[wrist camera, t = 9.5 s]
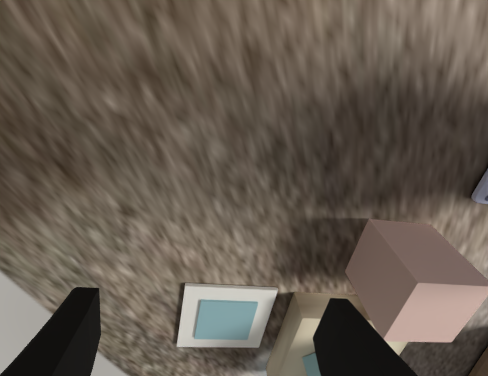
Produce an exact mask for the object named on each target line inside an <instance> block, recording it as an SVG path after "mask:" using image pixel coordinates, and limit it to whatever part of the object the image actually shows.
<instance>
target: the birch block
mask: <svg viewBox="0 0 488 376" xmlns="http://www.w3.org/2000/svg"><path fill="white" fill-rule="evenodd" d="M330 298H343V299H348V300H349V301H350V302H351V303H352V304H353V305H354V306H355V308H356V309H357V310H358V311H359V312H360V313H361V314H362V315H363V316H364V318H365V319H366V320H367V321H368V322H369V323H370V324H371V326H372V327H373V328H374V329H375V327H374V325H373V323H372V321H371V320H370V318H369V316H368V314H367V312H366V310H365V308H364V306H363V305H362V303H361V301H360V299H359V297H358V295H344V294H324V293H304V292H294V294H293V296H292V299H291V302H290V304H289V307H288V310H287V312H286V315H285V318H284V320H283V323H282V326H281V328H280V331H279V334H278V336H277V339H276V342H275V344H274V347H273V350H272V352H271V355H270V358H269V360H268V363H267V366H266V371H267V376H307V373H306V369H305V366H304V363H303V359H302V358H303V357H306V356H308V355H311V354H313V353H315V348H314V343H313V336H314V333H315V331H316V329H317V327H318V325H319V322H320V320H321V318H322V316H323V313H324V311H325V309H326V307H327V304H328V302H329V300H330ZM375 330H376V329H375ZM386 342H387V343H388V345H389V346H390V347H391V348H392V349H393V350H394V351H395V352H396V353H397V354H398V355H400V353H401V352H402V350H403V349H404V348H405V346H406V345H407V343H408V342H392V341H386Z"/></svg>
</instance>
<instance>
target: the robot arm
mask: <svg viewBox="0 0 488 376" xmlns="http://www.w3.org/2000/svg"><path fill="white" fill-rule="evenodd" d="M471 198H472V200H473V201H475V202H476V203H482V204H488V169H487V171H486V172H485V174H484V176H483V177H482V179H481V181H480V182H479V184H478V185H477V187H476V189H475V190H474V192H473V194H472V196H471ZM100 336H101V325H100V299H99V288H86V287H76V288H74V289H73V290H72V291H71V292H70V294H69V295H68V296H67V298H66V299H65V300H64V302H63V303H62V304H61V305H60V307H59V308H58V309H57V310H56V312H55V313H54V314H53V315H52V317H51V318H50V319H49V320H48V322H47V323H46V324H45V325H44V326H43V327H42V329H41V330H40V331H39V332H38V333H37V335H36V336H35V337H34V338H33V339H32V340H31V341H30V342H29V344H28V345H27V346H26V347H25V348H24V350H23V351H22V352H21V353H20V354H19V355H18V356H17V357H16V358H15V360H14V361H13V362H12V363H11V364H10V365H9V366H8V367H7V368H6V369H5V370H4V371H3V372H2V373H1V374H0V376H90V375H91V372H92V369H93V365H94V361H95V357H96V352H97V348H98V344H99V340H100ZM313 343H314V348H315V353H316V358H317V362H318V367H319V371H320V374H321V376H417V374H416V373H415V372H414V371H413V370H412V369H411V368H410V367H409V366H408V365H407V364H406V363H405V362H404V361H403V360H402V359H401V358H400V357H399V355H398V354H397V353H396V352H395V351H394V350H393V349H392V348H391V347H390V346H389V345H388V343H387V342H386V341H385V340H384V339H383V338H382V337H381V336H380V335H379V333H378V332H377V331H376V330H375V329H374V328H373V327H372V326H371V324H370V323H369V322H368V321H367V320H366V319H365V318H364V316H363V315H362V314H361V313H360V312H359V311H358V310H357V309H356V308H355V306H354V305H353V304H352V303H351V302H350V301H349V300H348V299H343V298H330V300H329V302H328V304H327V307H326V309H325V311H324V313H323V316H322V318H321V320H320V322H319V325H318V327H317V329H316V331H315V333H314V336H313Z"/></svg>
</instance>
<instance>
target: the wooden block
mask: <svg viewBox="0 0 488 376" xmlns="http://www.w3.org/2000/svg"><path fill="white" fill-rule="evenodd" d="M468 376H488V347H487V348H486V350H485V351H484V353H483V354H482V356H481V357H480V359H479V360H478V362H477V363H476V365H475V366H474V368H473V369H472V371H471V372H470V374H469V375H468Z"/></svg>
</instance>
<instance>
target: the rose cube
mask: <svg viewBox="0 0 488 376" xmlns="http://www.w3.org/2000/svg"><path fill="white" fill-rule="evenodd" d="M345 273H346V274H347V276H348V278H349V280H350V282H351V284H352V286H353V288H354V289H355V291H356V293H357V295H358V297H359V299H360V301H361V303H362V305H363V306H364V308H365V310H366V312H367V314H368V316H369V318H370V320H371V321H372V323H373V325H374V327H375V329H376V331H377V332H378V333H379V335H380V336H381V337H382V338H383V339H384V340H385V341H392V342H452V341H453V340H454V338H455V337H456V336H457V335H458V333H459V332H460V331H461V329H462V328H463V327H464V326H465V324H466V323H467V322H468V320H469V319H470V318H471V317H472V315H473V314H474V313H475V311H476V310H477V309H478V308H479V306H480V305H481V304H482V302H483V301H484V300H485V299H486V297H487V296H488V280H487V279H486V278H485V277H484V276H483V275H482V274H481V273H480V272H479V271H478V270H477V269H476V268H475V267H474V266H473V265H472V264H471V263H469V262H468V261H467V260H466V259H465V258H464V257H463V256H462V255H461V254H460V253H459V252H458V251H457V250H456V249H455V248H454V247H453V246H452V245H451V244H450V243H449V242H448V241H447V240H446V239H445V238H444V237H443V236H442V235H441V234H440V233H439V232H438V231H437V230H436V229H435V228H434V227H433V226H432V225H429V224H419V223H408V222H398V221H387V220H377V219H368V222H367V224H366V226H365V228H364V230H363V233H362V235H361V237H360V239H359V241H358V244H357V246H356V248H355V250H354V252H353V255H352V257H351V259H350V261H349V263H348V266H347V268H346V270H345Z"/></svg>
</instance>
